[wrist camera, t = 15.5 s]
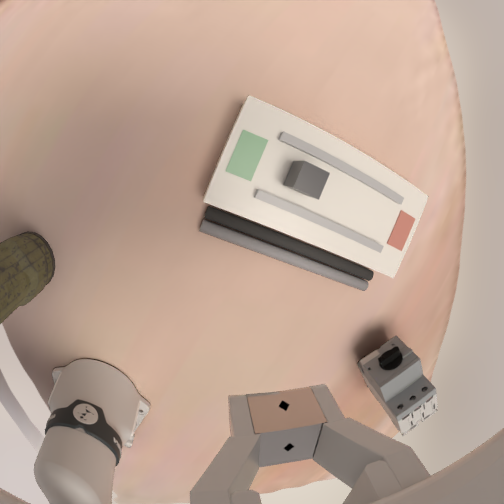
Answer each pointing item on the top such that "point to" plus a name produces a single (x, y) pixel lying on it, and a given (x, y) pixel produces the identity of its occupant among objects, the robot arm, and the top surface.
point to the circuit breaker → (399, 384)
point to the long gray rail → (281, 253)
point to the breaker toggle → (306, 179)
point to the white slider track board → (332, 197)
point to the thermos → (23, 270)
